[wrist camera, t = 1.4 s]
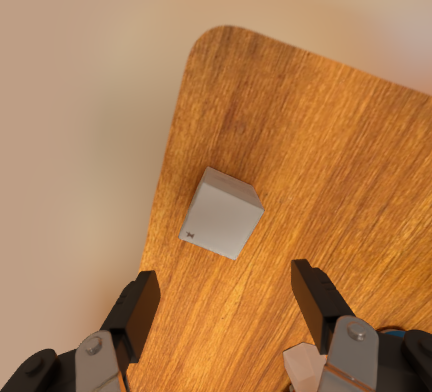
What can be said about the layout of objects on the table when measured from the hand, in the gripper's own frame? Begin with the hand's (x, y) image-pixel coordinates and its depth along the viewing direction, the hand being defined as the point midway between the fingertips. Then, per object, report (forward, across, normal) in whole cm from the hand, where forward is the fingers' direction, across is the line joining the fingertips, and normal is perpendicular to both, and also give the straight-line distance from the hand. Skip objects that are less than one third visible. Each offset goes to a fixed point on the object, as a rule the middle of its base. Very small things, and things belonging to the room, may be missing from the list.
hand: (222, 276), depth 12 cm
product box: (+14, 0, 0) cm, 14 cm away
